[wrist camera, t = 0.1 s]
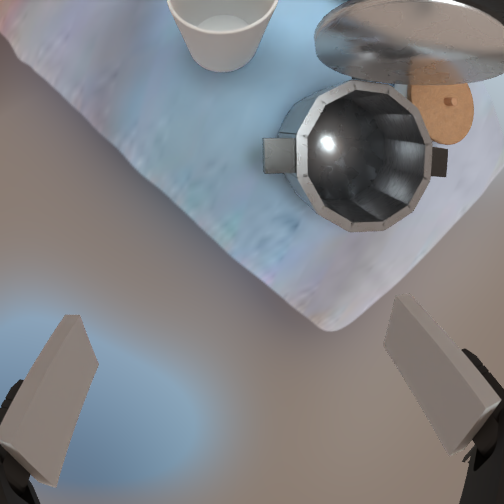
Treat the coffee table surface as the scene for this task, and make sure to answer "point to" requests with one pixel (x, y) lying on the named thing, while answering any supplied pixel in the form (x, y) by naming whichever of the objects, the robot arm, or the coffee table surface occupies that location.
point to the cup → (222, 30)
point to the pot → (356, 154)
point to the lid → (414, 40)
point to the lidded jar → (442, 109)
